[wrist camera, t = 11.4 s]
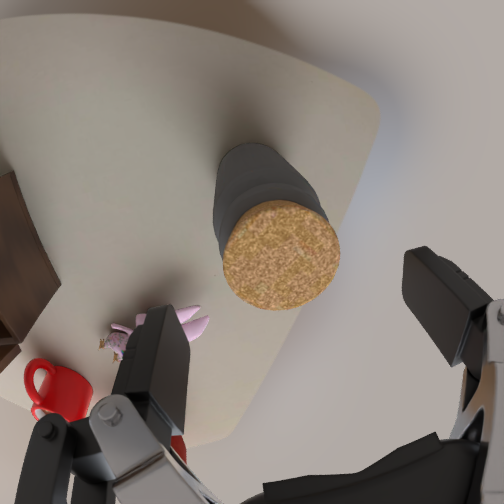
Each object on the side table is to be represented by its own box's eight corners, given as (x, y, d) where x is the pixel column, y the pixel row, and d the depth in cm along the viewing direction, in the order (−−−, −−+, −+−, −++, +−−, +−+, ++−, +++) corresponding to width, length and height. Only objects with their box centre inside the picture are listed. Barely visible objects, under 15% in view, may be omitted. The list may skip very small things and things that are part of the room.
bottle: (203, 166, 24) (177, 244, 11) (264, 129, 23) (317, 161, 10) (240, 220, 27) (257, 341, 13) (298, 186, 26) (371, 279, 12)
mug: (53, 341, 32) (31, 385, 25) (102, 396, 37) (91, 438, 31) (22, 349, 33) (1, 387, 26) (69, 399, 38) (56, 437, 31)
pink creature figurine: (130, 353, 35) (225, 320, 30) (116, 390, 30) (217, 366, 25) (96, 321, 32) (188, 276, 28) (76, 357, 27) (171, 322, 23)
